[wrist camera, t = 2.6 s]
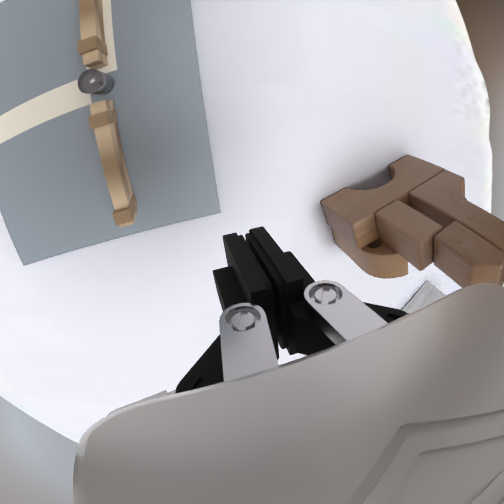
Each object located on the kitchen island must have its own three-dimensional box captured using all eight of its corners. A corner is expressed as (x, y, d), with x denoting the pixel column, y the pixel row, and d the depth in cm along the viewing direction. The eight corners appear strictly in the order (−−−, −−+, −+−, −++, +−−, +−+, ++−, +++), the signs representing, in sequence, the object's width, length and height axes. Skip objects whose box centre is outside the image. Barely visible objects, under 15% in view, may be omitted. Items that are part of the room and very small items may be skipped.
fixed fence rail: (108, 65, 17) (97, 58, 14) (93, 70, 17) (79, 64, 14) (102, -27, 12) (93, -46, 9) (87, -22, 12) (76, -39, 8)
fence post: (94, 79, 18) (76, 73, 14) (114, 72, 18) (100, 65, 14) (97, 97, 19) (79, 97, 15) (116, 91, 19) (103, 88, 15)
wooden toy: (334, 247, 34) (482, 410, 13) (319, 200, 30) (512, 373, 9) (422, 193, 34) (569, 294, 13) (416, 149, 30) (591, 241, 9)
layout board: (-24, 22, 9) (-28, 22, 8) (183, -57, 13) (184, -60, 12) (25, 262, 24) (23, 266, 23) (219, 210, 28) (220, 213, 27)
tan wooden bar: (98, 104, 19) (85, 105, 15) (114, 99, 19) (103, 99, 16) (124, 212, 24) (117, 231, 21) (138, 208, 24) (134, 227, 21)
